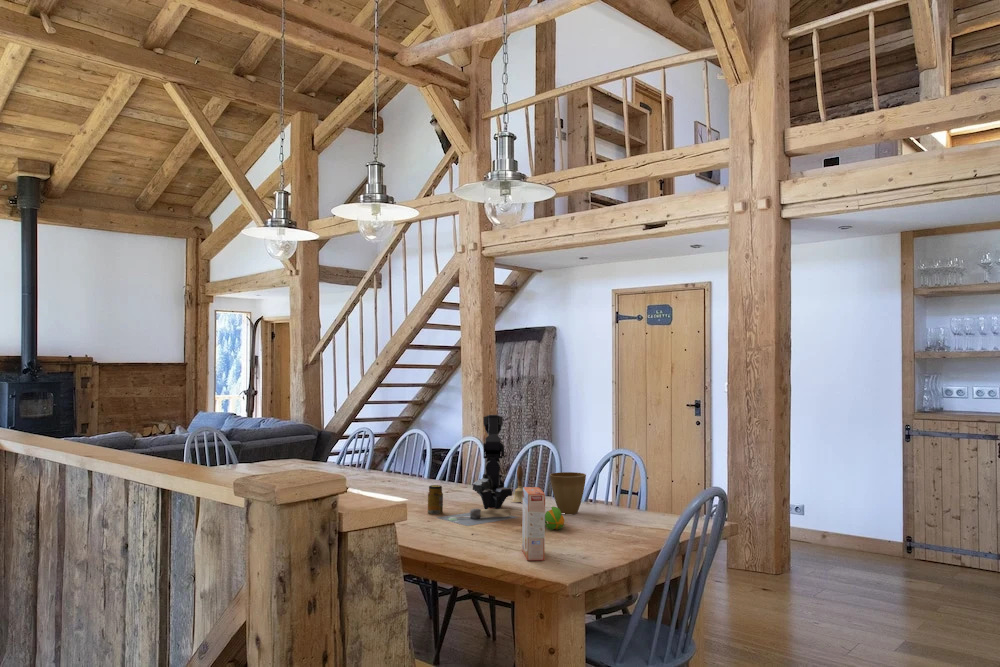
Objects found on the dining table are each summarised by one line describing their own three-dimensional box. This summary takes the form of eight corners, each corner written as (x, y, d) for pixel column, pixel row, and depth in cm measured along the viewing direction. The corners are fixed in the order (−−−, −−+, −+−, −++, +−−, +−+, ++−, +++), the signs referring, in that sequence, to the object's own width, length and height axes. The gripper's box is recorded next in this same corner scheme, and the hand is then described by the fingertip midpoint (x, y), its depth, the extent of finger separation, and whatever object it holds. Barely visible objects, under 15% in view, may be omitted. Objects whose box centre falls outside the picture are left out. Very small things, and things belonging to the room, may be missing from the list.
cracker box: (545, 561, 236) (546, 493, 236) (526, 561, 235) (526, 493, 236) (539, 550, 250) (540, 486, 250) (521, 550, 249) (521, 486, 250)
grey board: (487, 512, 314) (487, 509, 314) (519, 519, 299) (519, 517, 299) (436, 520, 297) (436, 517, 297) (467, 528, 282) (467, 525, 282)
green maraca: (547, 511, 276) (541, 501, 296) (545, 532, 276) (540, 521, 296) (567, 512, 277) (560, 502, 297) (565, 533, 276) (558, 522, 296)
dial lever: (508, 515, 301) (508, 507, 301) (511, 517, 297) (511, 509, 297) (449, 518, 295) (449, 509, 296) (451, 520, 291) (451, 511, 292)
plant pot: (587, 510, 319) (587, 472, 320) (584, 517, 304) (584, 477, 305) (551, 509, 322) (552, 471, 322) (547, 515, 307) (548, 476, 308)
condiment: (437, 513, 311) (437, 484, 312) (449, 516, 305) (449, 486, 305) (422, 515, 307) (422, 485, 307) (434, 518, 300) (434, 488, 301)
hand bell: (508, 502, 336) (508, 466, 337) (514, 499, 344) (514, 464, 345) (526, 504, 333) (526, 467, 334) (531, 500, 341) (531, 465, 342)
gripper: (462, 470, 305) (461, 509, 305) (491, 476, 291) (490, 517, 290) (484, 468, 312) (483, 506, 312) (513, 474, 298) (512, 514, 297)
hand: (491, 511), depth 303 cm, fingers open, 7 cm apart
